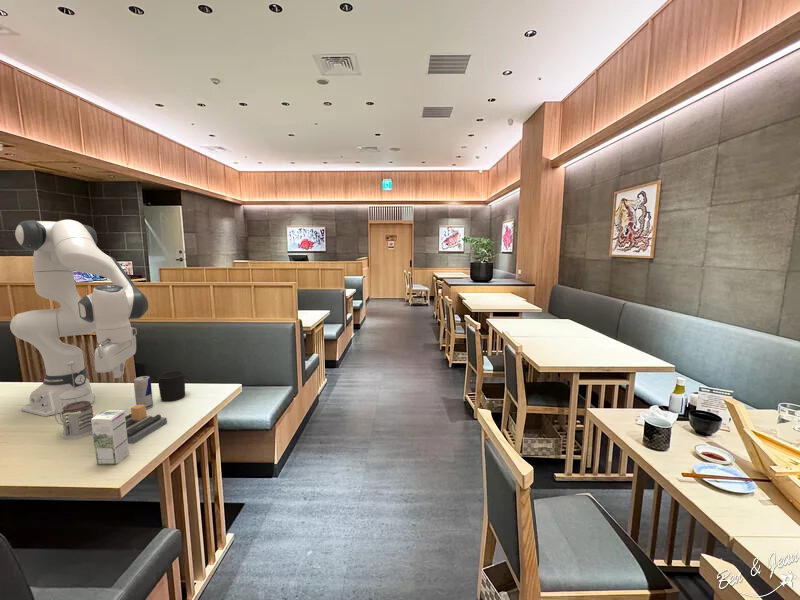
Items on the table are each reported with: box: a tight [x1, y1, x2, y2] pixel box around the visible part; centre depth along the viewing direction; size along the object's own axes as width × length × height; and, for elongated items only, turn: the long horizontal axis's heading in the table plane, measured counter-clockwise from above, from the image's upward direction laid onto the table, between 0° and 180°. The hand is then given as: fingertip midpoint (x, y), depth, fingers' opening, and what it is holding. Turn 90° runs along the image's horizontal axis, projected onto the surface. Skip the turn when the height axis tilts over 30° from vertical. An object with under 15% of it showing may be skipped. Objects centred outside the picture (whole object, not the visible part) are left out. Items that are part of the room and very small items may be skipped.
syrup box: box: [91, 409, 130, 465], centre depth 106 cm, size 6×6×14 cm
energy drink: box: [133, 375, 154, 410], centre depth 140 cm, size 5×5×12 cm
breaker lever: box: [130, 404, 148, 423], centre depth 125 cm, size 3×3×5 cm
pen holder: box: [157, 370, 186, 403], centre depth 150 cm, size 9×9×10 cm
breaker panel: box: [125, 413, 168, 445], centre depth 123 cm, size 14×14×4 cm
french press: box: [54, 361, 94, 441], centre depth 120 cm, size 10×12×25 cm
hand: (119, 376), depth 117 cm, fingers closed
